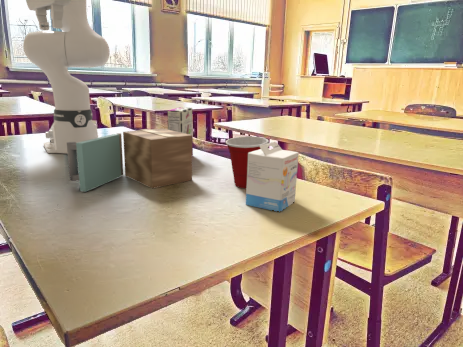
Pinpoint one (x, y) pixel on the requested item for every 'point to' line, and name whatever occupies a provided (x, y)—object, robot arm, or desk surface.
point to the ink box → (271, 177)
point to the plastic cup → (242, 156)
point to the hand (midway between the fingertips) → (50, 29)
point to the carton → (158, 156)
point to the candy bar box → (181, 121)
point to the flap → (95, 161)
